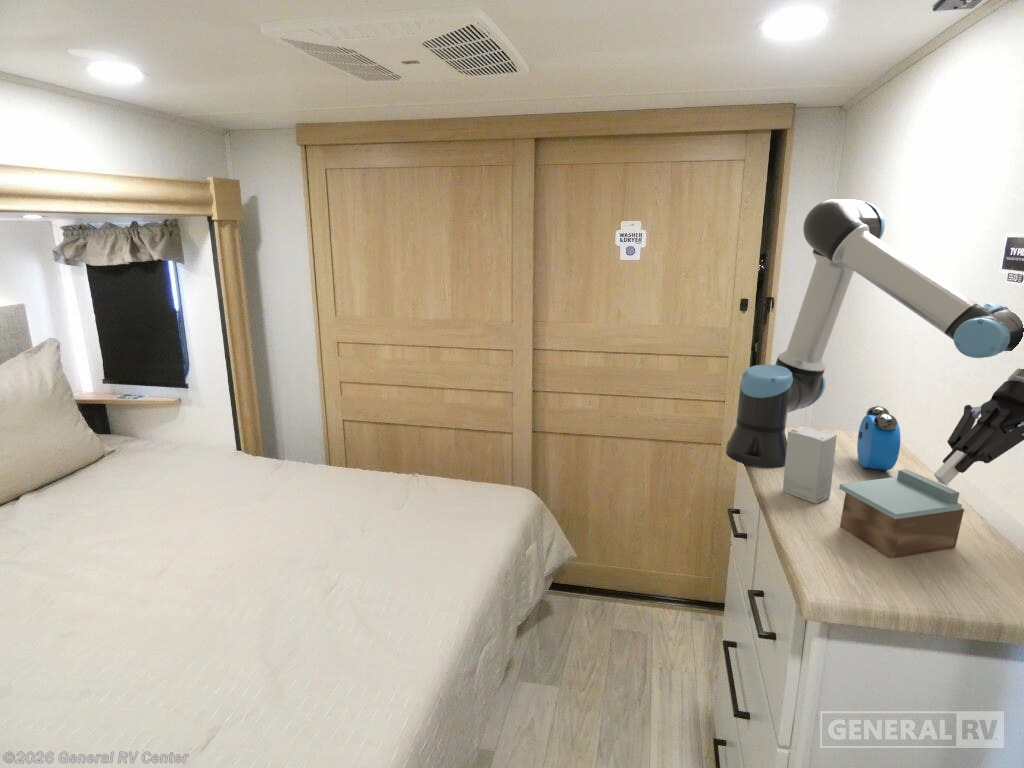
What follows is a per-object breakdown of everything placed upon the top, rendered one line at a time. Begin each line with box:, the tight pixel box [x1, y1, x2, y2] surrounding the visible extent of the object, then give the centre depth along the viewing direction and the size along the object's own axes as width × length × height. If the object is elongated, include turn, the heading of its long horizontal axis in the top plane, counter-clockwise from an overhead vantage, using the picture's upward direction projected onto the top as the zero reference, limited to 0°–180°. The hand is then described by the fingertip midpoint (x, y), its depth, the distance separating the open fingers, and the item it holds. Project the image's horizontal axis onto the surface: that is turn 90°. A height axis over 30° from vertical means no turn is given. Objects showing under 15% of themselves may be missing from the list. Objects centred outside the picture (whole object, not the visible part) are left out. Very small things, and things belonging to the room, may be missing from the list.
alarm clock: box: [856, 405, 901, 475], centre depth 146 cm, size 13×6×15 cm, turn 163°
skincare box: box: [782, 426, 838, 505], centre depth 131 cm, size 8×6×15 cm
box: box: [839, 492, 965, 559], centre depth 114 cm, size 12×15×8 cm
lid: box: [838, 468, 963, 519], centre depth 112 cm, size 13×15×3 cm
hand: (939, 479), depth 114 cm, fingers closed
